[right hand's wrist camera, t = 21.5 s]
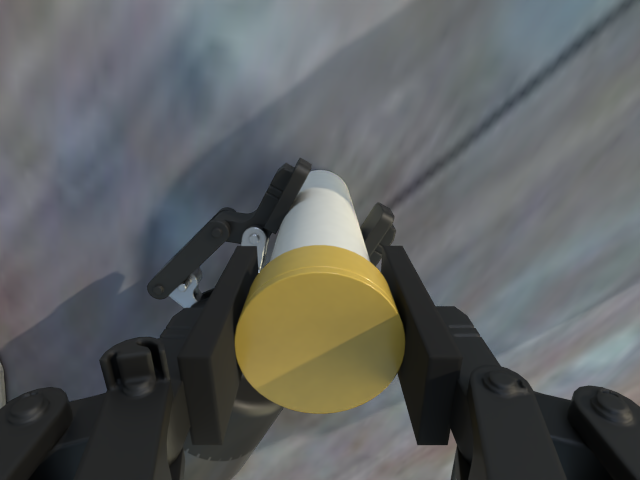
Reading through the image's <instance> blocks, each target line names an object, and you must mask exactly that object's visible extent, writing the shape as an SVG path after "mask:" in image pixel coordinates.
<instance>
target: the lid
mask: <svg viewBox="0 0 640 480" xmlns="http://www.w3.org/2000/svg"><path fill="white" fill-rule="evenodd" d="M234 344H235V353H236V359H237V362H238V365H239V367H240V369H241V371H242V373H243V375H244V376H245V378H246V379H247V381H248V382H249V383H250V384H251V385H252V387H253V388H254V389H256V390H257V391H258V392H259V393H260V394H261V395H263V396H264V397H265V398H267V399H268V400H270V401H272V402H274V403H276V404H278V405H280V406H282V407H285V408H288V409H291V410H294V411H299V412H304V413H314V414H326V413H336V412H341V411H345V410H349V409H352V408H355V407H357V406H360V405H362V404H364V403H366V402H368V401H370V400H371V399H373V398H374V397H376V396H377V395H378V394H380V393H381V392H382V391H383V390H384V389H385V388H386V387H387V386H388V385H389V384H390V383H391V382H392V380H393V379H394V378H395V376H396V374H397V373H398V371H399V369H400V366H401V364H402V362H403V358H404V351H405V331H404V327H403V323H402V320H401V318H400V315H399V312H398V309H397V307H396V304H395V301H394V298H393V296H392V293H391V290H390V288H389V285H388V283H387V281H386V280H385V278H384V276H383V275H382V274H381V272H380V271H379V270H378V269H377V268H376V267H375V266H374V265H373V264H372V263H371V262H369V261H368V260H367V259H365V258H364V257H362V256H360V255H358V254H357V253H355V252H352V251H350V250H347V249H344V248H340V247H336V246H328V245H311V246H304V247H300V248H296V249H293V250H290V251H288V252H285V253H283V254H281V255H279V256H278V257H276V258H275V259H273V260H272V261H270V262H269V263H268V264H267V265H266V266H265V267H264V268H263V269H262V270H261V271H260V272H259V273H258V275H257V276H256V278H255V279H254V281H253V283H252V285H251V287H250V290H249V292H248V295H247V298H246V301H245V303H244V306H243V309H242V312H241V314H240V317H239V320H238V323H237V325H236V330H235V335H234Z"/></svg>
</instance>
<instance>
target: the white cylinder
mask: <svg viewBox="0 0 640 480" xmlns="http://www.w3.org/2000/svg"><path fill="white" fill-rule="evenodd" d="M311 245H328V246H336V247H340V248H344V249H347V250H350V251H352V252H355V253H357V254H358V255H360V256H362V257H364V258H365V259H367V260H368V261H369V262H370V259H369V256H368V253H367V250H366V246H365V243H364V240H363V236H362V233H361V230H360V227H359V223H358V220H357V217H356V213H355V210H354V207H353V204H352V200H351V197H350V194H349V190H348V188H347V186H346V184H345V183H344V181H343V180H342V179H341V178H340V177H339V176H337V175H336V174H334V173H332V172H329V171H325V170H314V171H310V173H309V175H308V176H307V178H306V180H305V182H304V184H303V186H302V187H301V189H300V191H299V193H298V195H297V196H296V198H295V200H294V202H293V204H292V205H291V207H290V209H289V211H288V213H287V214H286V216H285V218H284V219H283V221H282V223H281V226H280V229H279V233H278V236H277V239H276V242H275V246H274V249H273V252H272V256H271V259H270V261H272V260H273V259H275V258H276V257H278V256H279V255H281V254H283V253H285V252H288V251H290V250H293V249H296V248H300V247H304V246H311Z"/></svg>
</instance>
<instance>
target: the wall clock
mask: <svg viewBox="0 0 640 480" xmlns="http://www.w3.org/2000/svg"><path fill="white" fill-rule="evenodd" d="M4 405H6V398H5V384H4V370H3V367H2V365H1V362H0V409H1V408H2V407H3V406H4Z"/></svg>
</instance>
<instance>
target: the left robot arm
mask: <svg viewBox="0 0 640 480" xmlns="http://www.w3.org/2000/svg"><path fill="white" fill-rule="evenodd" d="M311 165H312V164H310V163H309V162H307V161H305V160H303V159H302V158H299V160H298V162H297V164H296V166H295V167H293V166H291V165H289V164H287V163H285V164H284V165H283V166H282V167H281V168H279V169H278V171H277V173H276V175H275V176H274V178H273V180H272V182H271V184H270V186H269V188H268V190H267V192H266V194H265V196H264V198H263V199H262V201H261V203H260V205H259V207H258V209H257V210H256V211H255V212H253V213H249V214H244V213H237V212H236V211H235V210H234V209H232V208H223V209H221V210H220V211H219V212H218V213H217V214H216V215H215V216H214V217H213V218H212V219H211V220H210V221H209V222H208V223H207V224H206V225H205V226H204V227H203V228H202V229H201V230H200V231H199V232H198V233H197V234H196V235H195V236H194V237H193V238H192V239H191V240H190V241H189V242H188V243H187V244H186V245H185V246H184V247H183V248H182V249H181V250H180V251H179V252H178V253H177V254H176V255H175V256H174V257H173V258H172V259H171V260H170V261H169V262H168V263H167V264H166V265H165V266H164V267H163V268H162V269H161V270H160V271H159V272H158V274H157V275H156V276H155V277H154V278H153V279H152V280H151V281H150V282H149V284H148V286H147V290H148V292H149V294H150V295H151V296H152V297H154V298H156V299H165V298H166V297H168V296H169V297H170V298H172V299H173V300H174V301H175V302H177V303H178V304H179V305H180V306H182V307H183V308H204V306H205V304H206V303H207V301H208V299H209V297H210V295H211V294H212V292H213V290H214V288H213V289H211V290H209V291H206V292H204V293H201V292H200V290H199V288H198V284H199V282H200V280H201V279H202V272H201V270H200V268H199V266H200V265H201V264H202V263H203V262H204V261H205V260H206V259H207V258H208V257H209V256H210V255H212V254H213V253H214V252H215V251H216V250H217V249H218V248H219V247H220V246H221V245H222V244H223V243H224V242H225V241H226V242H233V243H239V244H241V246H257V254H258V269H259V272H260V271H261V270H262V269H263V268H264V266H265V260H266V255H267V248H268V242H269V237H270V235H271V233H272V232H273V233H274V234H276V233H277V231H278V229H279V227H280V225H281V223H282V221H283V219H284V218H285V216H286V214H287V213H288V211H289V209H290V207H291V205H292V204H293V202H294V200H295V198H296V196H297V195H298V193H299V191H300V189H301V187H302V186H303V184H304V182H305V180H306V178H307V176H308V175H309V173H310V170H311ZM393 221H394V215H393V213H392V212H391V210H390V209H389V208H388V207H386V206H384V205H382V204H381V203H377V204H376V205H375V206H374V207H373V209H372V210H371V212H370V214H369V215H368V217H367V218H366V220H365V221H364V223H363V224H362V226H361V228H360V230H361V233H362V236H363V240H364V243H365V246H366V250H367V253H368V256H369V259H370V262H371V263H372V264H373V265H374V266H375V267H376V265H377V264H378V262H379V261H380V259H381V258H382V251H383V246H390V245H391V243H392V242H393V240H394V237H395V232H396V230H395V228H394V226H393V224H392V223H393ZM283 408H284V407H282V406H280V405H278V404H276V403H274V402H272V401H270V400H268V399H267V398H265V397H264V396H263V395H261V394H260V393H259V392H258V391H257V390H256V389H254V388H253V387H252V385H251V384H250V383H249V382H248V381H247V379H246V378H245V376H244V375H243V373H242V376H241V380H240V383H239V387H238V390H237V394H236V398H235V401H234V405H233V408H232V412H231V415H230V419H229V423H228V426H227V430H226V433H225V437H224V441H223V444H222V445H192V441H191V436H190V430H189V432H188V434H187V437H186V439H185V442H184V445H183V449H184V454H185V470H184V480H231V479H232V478H233V477H234V476H235V475H236V474H237V473H238V472H239V470H240V469H241V468H242V467H243V465H244V464H245V462H246V461H247V460H248V458H249V457H250V455H251V454H252V452H253V451H254V450H255V448H256V447H257V445H258V444H259V442H260V441H261V439H262V438H263V437H264V435H265V434H266V432H267V431H268V429H269V428H270V426H271V425H272V424H273V422H274V421H275V419H276V418H277V416H278V415H279V413H280V412H281V411H282V409H283Z"/></svg>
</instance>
